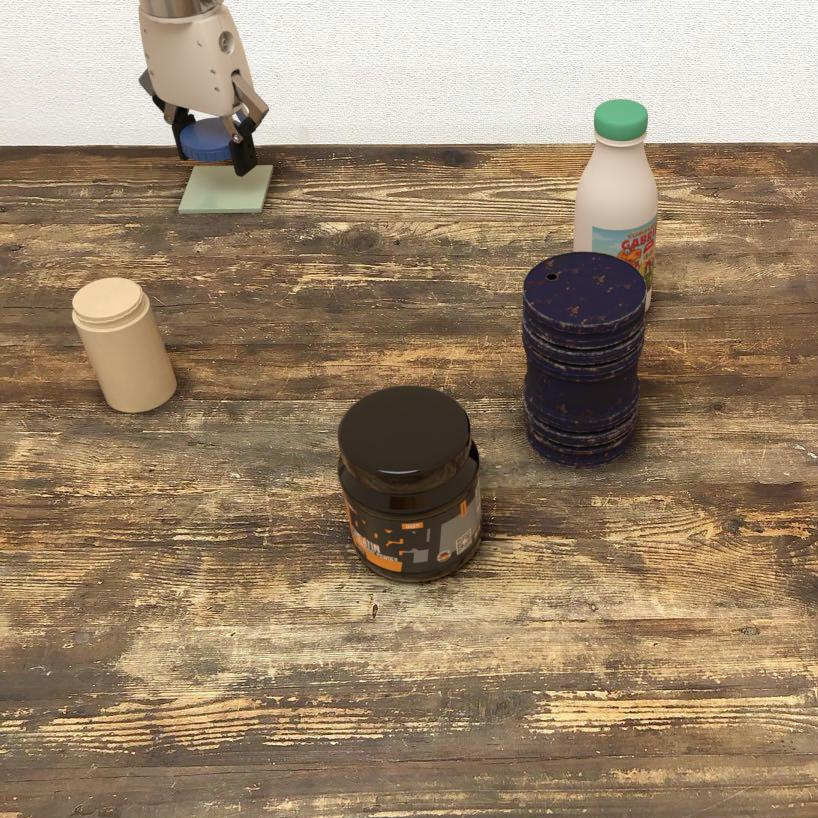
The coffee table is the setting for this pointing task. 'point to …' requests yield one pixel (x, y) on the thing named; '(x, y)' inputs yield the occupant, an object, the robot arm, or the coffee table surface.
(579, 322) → the storage jar
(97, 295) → the beige jar
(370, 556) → the supplement container
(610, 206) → the milk bottle
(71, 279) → the coffee table surface
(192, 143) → the lid
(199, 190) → the tile
